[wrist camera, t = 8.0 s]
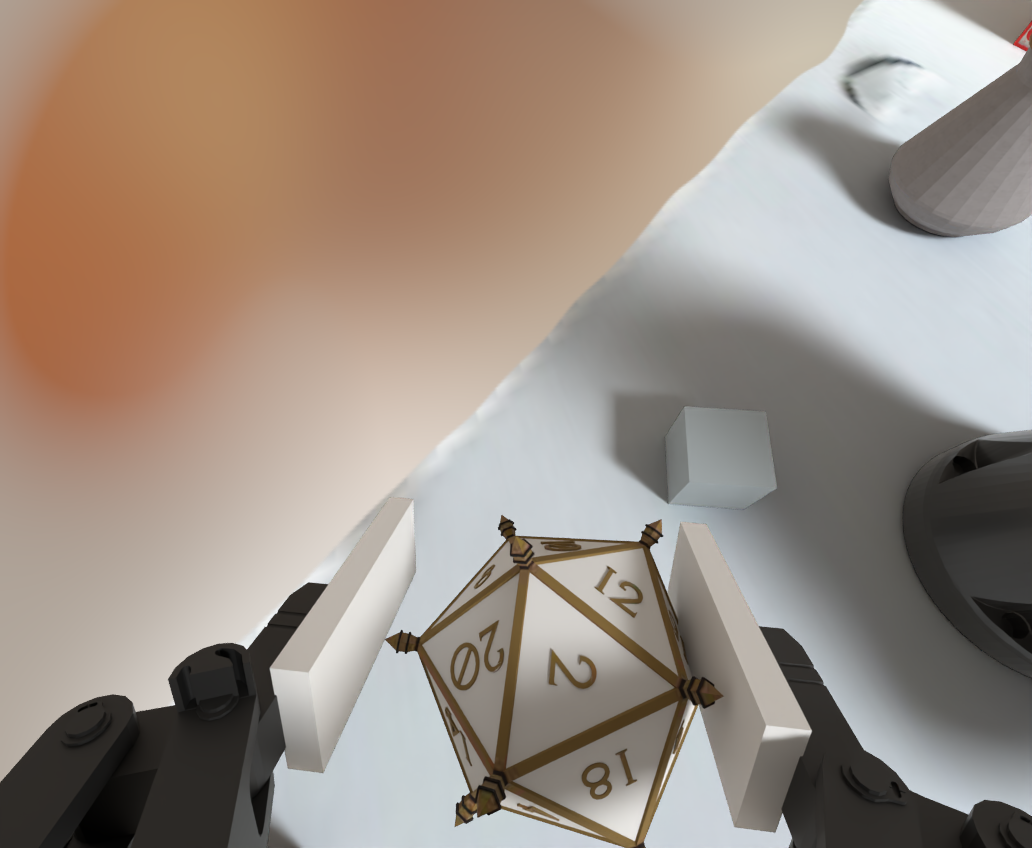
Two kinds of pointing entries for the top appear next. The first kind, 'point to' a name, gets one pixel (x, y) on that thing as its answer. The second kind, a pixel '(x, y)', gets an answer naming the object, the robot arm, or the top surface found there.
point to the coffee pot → (971, 162)
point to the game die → (564, 683)
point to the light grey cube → (719, 458)
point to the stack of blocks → (1024, 38)
